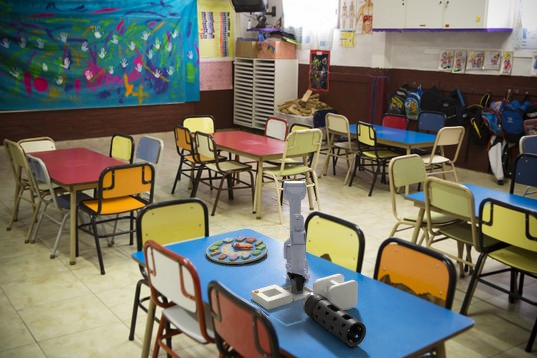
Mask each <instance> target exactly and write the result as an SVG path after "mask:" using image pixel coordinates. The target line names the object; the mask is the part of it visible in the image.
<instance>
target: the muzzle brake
mask: <svg viewBox="0 0 537 358" xmlns="http://www.w3.org/2000/svg"><path fill="white" fill-rule="evenodd" d="M302 308H303V309H302V310H304V314H305V315H306V317H308V318H310V319H311V320H313V321H315V322H317V323H318V324H319V325H321V326H322V327H323V328H324V329H326V331H327V330H328V331H329V332H330V333H331V334H333V336H335V337H336V338H338V339H339V340H341V341H342V342H343V343H345V344H346V345H347V346H349V347H351V348H352V349H354V348H356V347H357V346H359V345H360V344H361V343H363V342H364V339H365V337H366V335H367V327H366V325H365V324H364V323H363V322H362V321H360V320H358V319H357V317H354V316H353V315H351V314H350V313H348V312H347V311H346V310H342V309H341V308H339V307H338V306H336V305H335V304H333V303H332V302H330V301H329V300H328V299H327V298H326V297H324V296H323V295H321V294H316V293H311V294H309V295H308V296H307V297H306V298H304V300H303V302H302Z"/></svg>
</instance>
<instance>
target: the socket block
mask: <svg viewBox="0 0 537 358" xmlns="http://www.w3.org/2000/svg"><path fill="white" fill-rule="evenodd" d="M250 292H251V293H250V294H251V296H250V298H251V301H254V302H255V303H257V304H259V305H260V306H262V307H263V308H265V309H266V310H272V309H274V308H278V307H281V306H284V305H288V304H291V303H293V300H292V294H291V293H289V292H288V291H286V290H284V289H283V287H281V286H279V285H277V284H275V283H274V284H271V285H268V286H265V287H261V288H258V289H253V290H251V291H250Z"/></svg>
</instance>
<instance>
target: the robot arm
mask: <svg viewBox="0 0 537 358" xmlns="http://www.w3.org/2000/svg"><path fill="white" fill-rule="evenodd" d="M282 187H283V198H284V200H286V201H287V202H288V204H289V237H288V238H287V239H286V240H285V241H284V242H283V259H284V260H286V263H285V264H284V265H285V267H284V268H285V269H286V273H285V275H282V278H284V279H286V280H288V281H290V282H291V279H294V278H295V279H296V283H297V291H298V292H300V291H302V290H303V286H304V285H305V283H306V281H307V280H308V279H311V274H310V273H309V261H308V260H307V259H308V258H307V245H306V244H307V232H306V228H305V220H304V219H305V217H304V215H302V211H301V210H302V201H304V200H305V198H306V195H307V182H306V180H304V181H303V180H299V181H298V180H297V181H295V180H294V181H286V180H285V181H283V186H282Z"/></svg>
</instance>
